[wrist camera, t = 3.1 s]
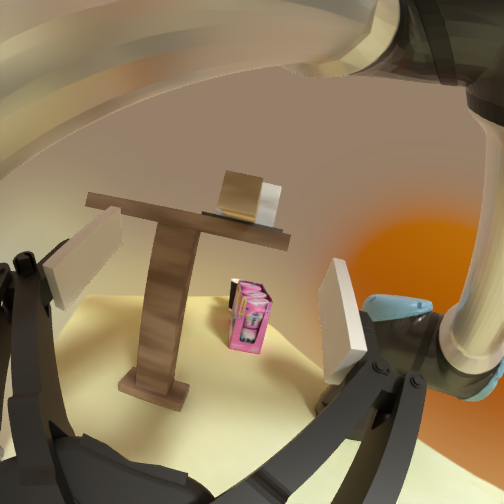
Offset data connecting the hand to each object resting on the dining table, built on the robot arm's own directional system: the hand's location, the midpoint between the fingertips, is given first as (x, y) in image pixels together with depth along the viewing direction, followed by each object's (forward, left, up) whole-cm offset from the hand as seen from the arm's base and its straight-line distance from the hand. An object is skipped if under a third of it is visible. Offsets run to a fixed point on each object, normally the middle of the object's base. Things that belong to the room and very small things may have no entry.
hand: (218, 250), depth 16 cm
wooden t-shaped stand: (-15, -18, -26) cm, 35 cm away
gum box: (-51, -24, -26) cm, 62 cm away
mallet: (-14, -8, +3) cm, 17 cm away
